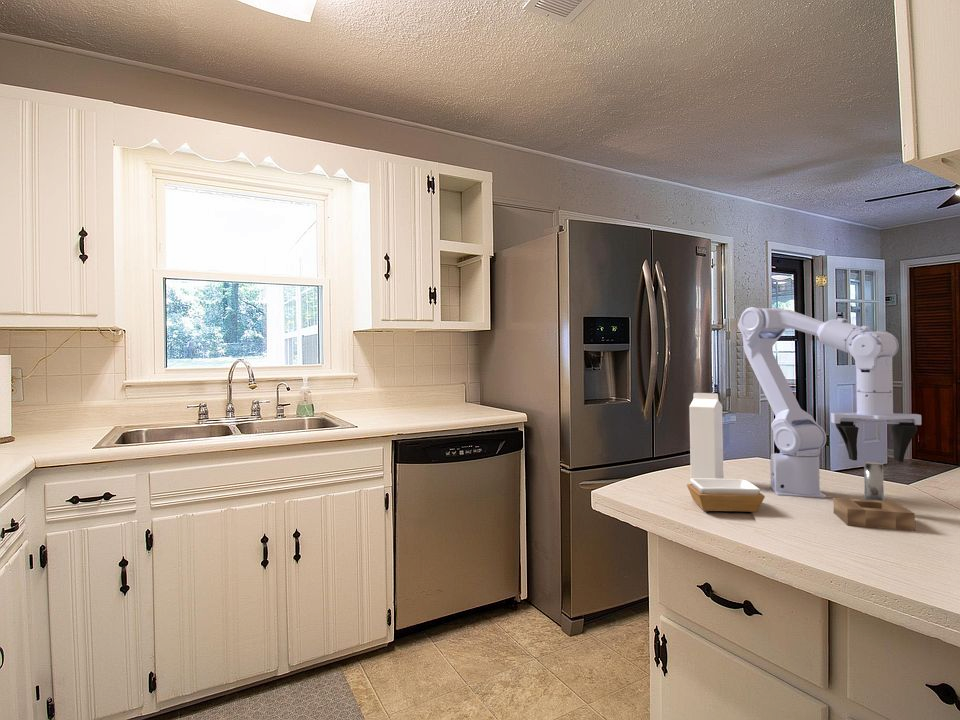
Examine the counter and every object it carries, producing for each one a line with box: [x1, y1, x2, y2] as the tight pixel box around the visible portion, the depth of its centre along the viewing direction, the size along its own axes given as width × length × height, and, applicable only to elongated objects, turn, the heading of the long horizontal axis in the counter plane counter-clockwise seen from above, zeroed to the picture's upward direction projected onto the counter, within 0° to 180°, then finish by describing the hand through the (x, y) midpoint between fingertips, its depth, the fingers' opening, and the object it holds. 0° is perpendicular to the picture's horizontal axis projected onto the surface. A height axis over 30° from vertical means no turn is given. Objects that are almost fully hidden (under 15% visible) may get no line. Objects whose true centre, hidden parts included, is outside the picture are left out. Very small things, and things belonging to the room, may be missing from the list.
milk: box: [688, 392, 724, 480], centre depth 129 cm, size 6×6×22 cm
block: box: [833, 497, 916, 531], centre depth 96 cm, size 10×8×3 cm
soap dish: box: [686, 478, 766, 513], centre depth 108 cm, size 12×10×5 cm
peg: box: [863, 461, 885, 501], centre depth 103 cm, size 3×3×9 cm
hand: (875, 460), depth 103 cm, fingers open, 7 cm apart
